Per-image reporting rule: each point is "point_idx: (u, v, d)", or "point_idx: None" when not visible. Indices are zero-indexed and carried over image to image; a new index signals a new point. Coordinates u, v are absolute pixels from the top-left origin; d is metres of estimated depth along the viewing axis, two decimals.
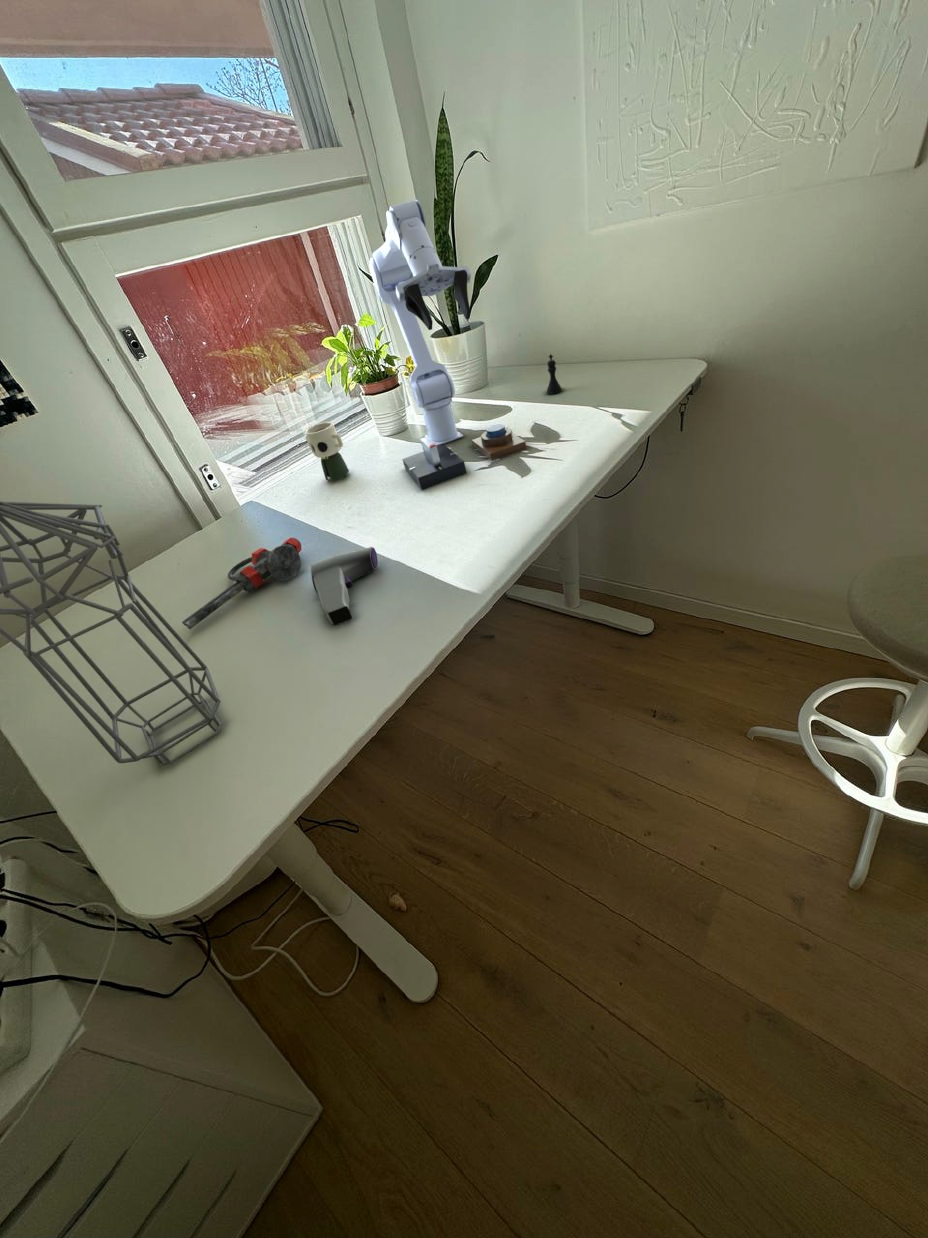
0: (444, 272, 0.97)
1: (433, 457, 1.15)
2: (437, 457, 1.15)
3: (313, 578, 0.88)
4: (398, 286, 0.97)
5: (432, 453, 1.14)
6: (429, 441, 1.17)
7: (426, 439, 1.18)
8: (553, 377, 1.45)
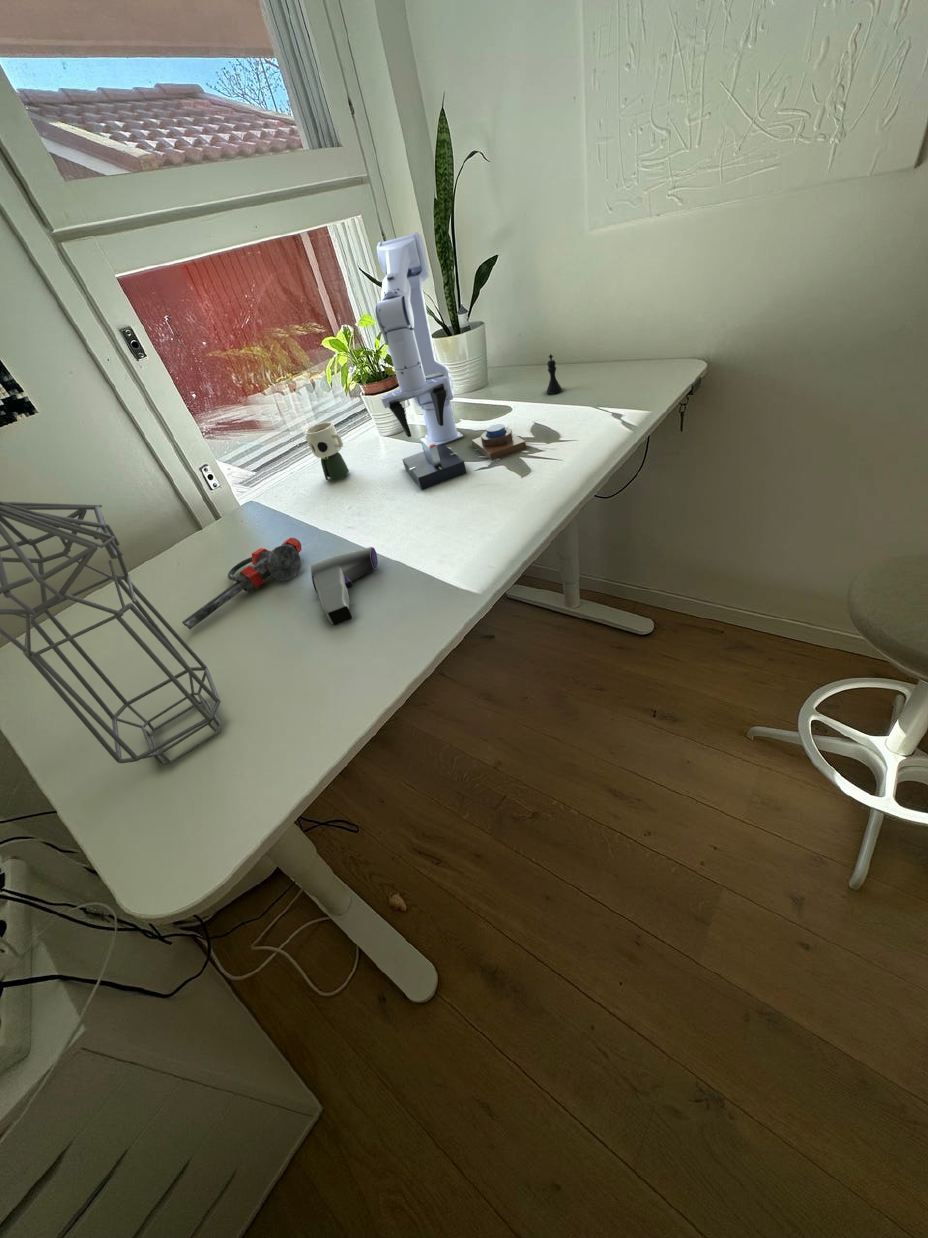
0: None
1: (433, 457, 1.15)
2: (437, 457, 1.15)
3: (313, 578, 0.88)
4: (384, 400, 1.08)
5: (432, 453, 1.14)
6: (429, 441, 1.17)
7: (426, 439, 1.18)
8: (553, 377, 1.45)
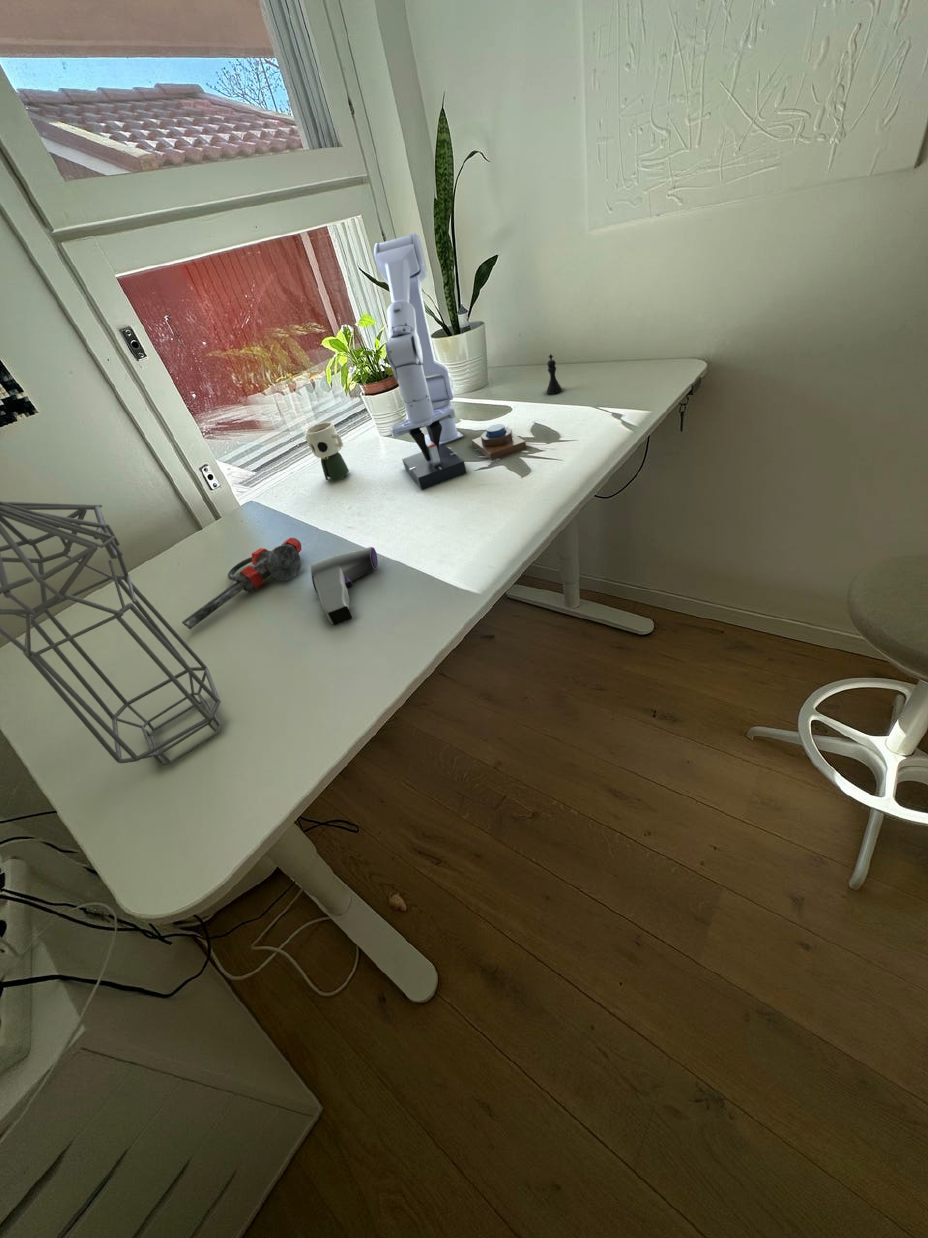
0: None
1: (433, 457, 1.15)
2: (437, 457, 1.15)
3: (313, 578, 0.88)
4: (394, 431, 1.12)
5: (432, 453, 1.14)
6: (429, 441, 1.17)
7: (426, 439, 1.18)
8: (553, 377, 1.45)
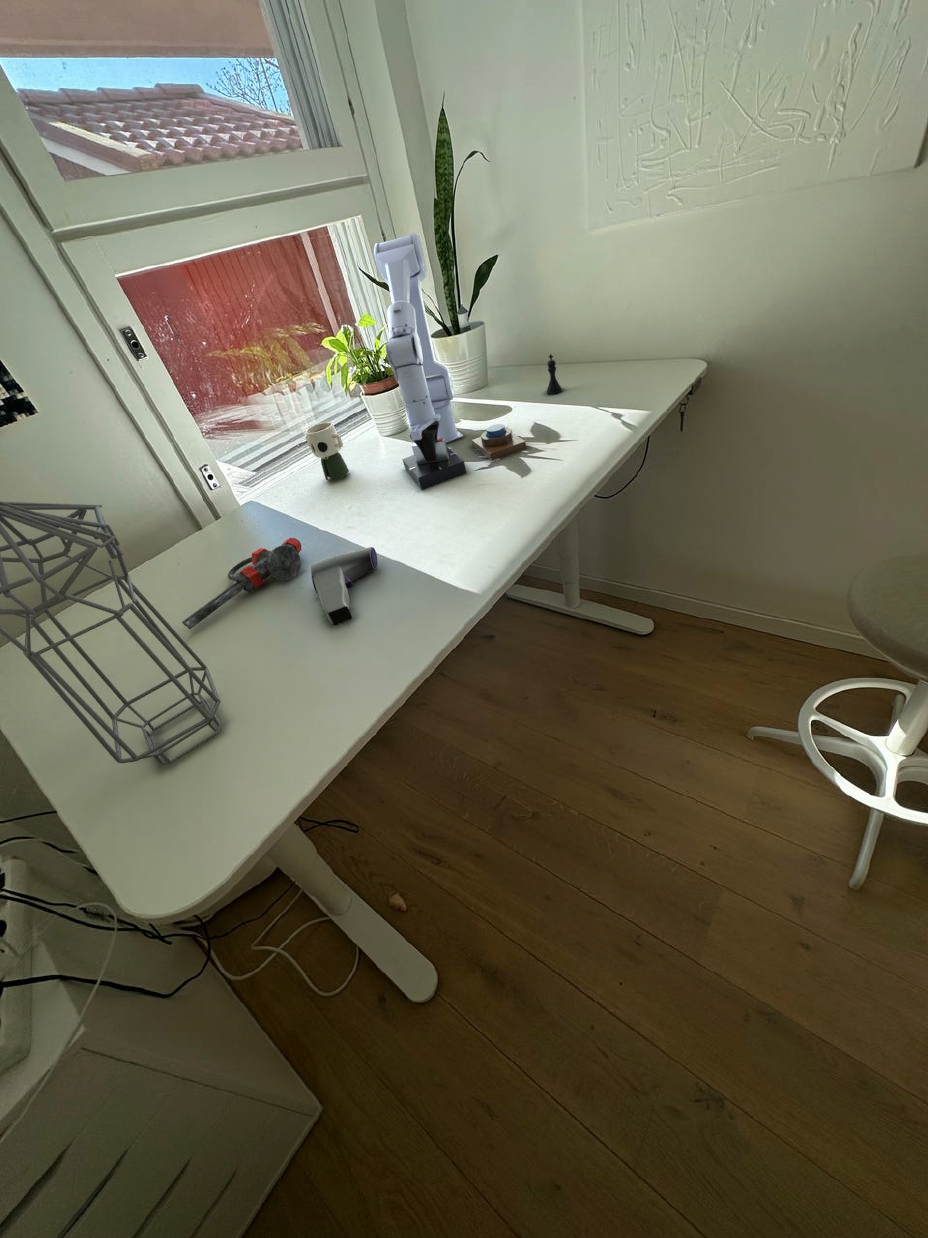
0: None
1: (446, 450, 1.17)
2: (447, 450, 1.18)
3: (313, 578, 0.88)
4: (419, 431, 1.08)
5: (445, 446, 1.16)
6: None
7: None
8: (553, 377, 1.45)
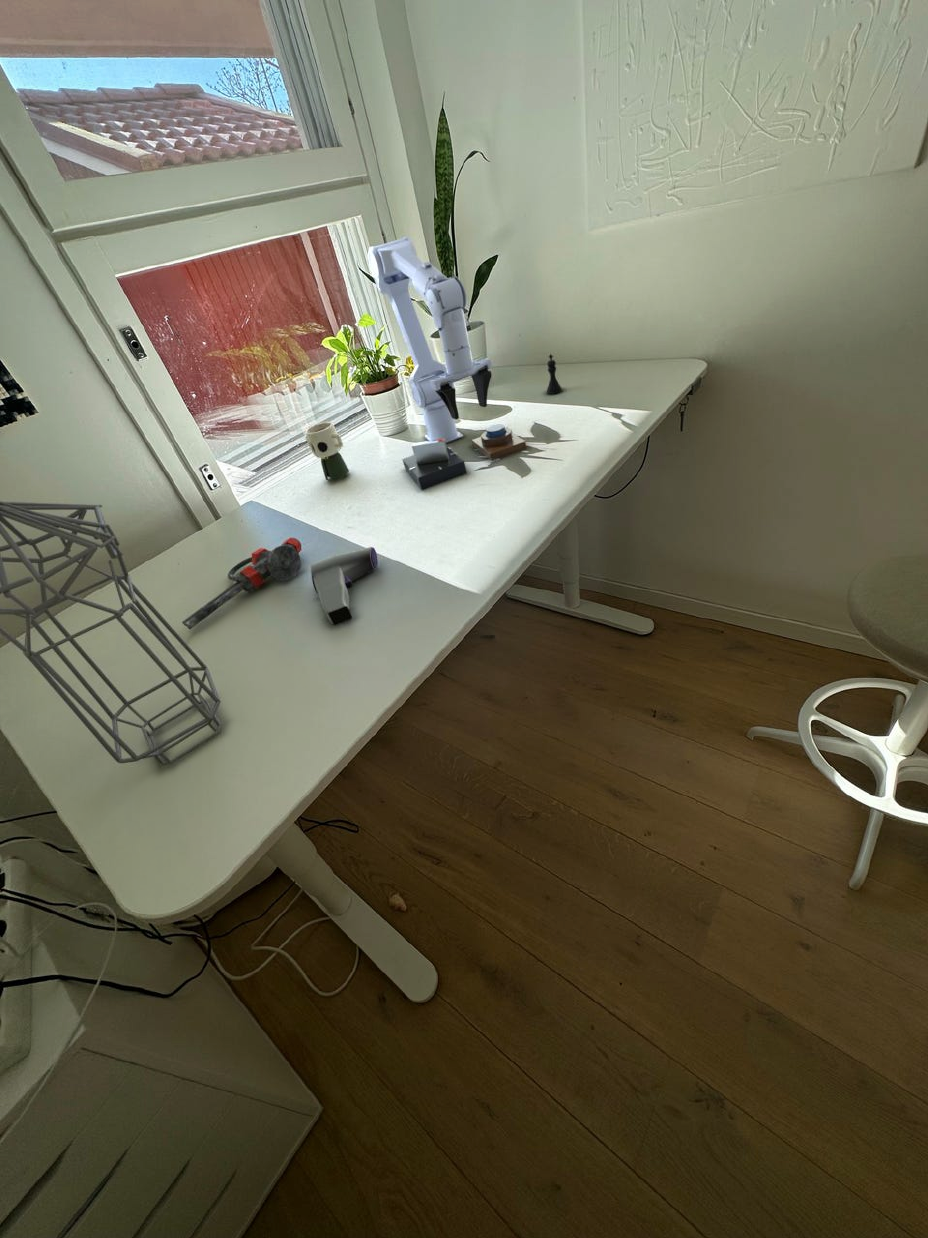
0: None
1: (446, 450, 1.17)
2: (447, 450, 1.18)
3: (313, 578, 0.88)
4: (436, 382, 1.09)
5: (445, 446, 1.16)
6: (427, 441, 1.17)
7: (419, 443, 1.17)
8: (553, 377, 1.45)
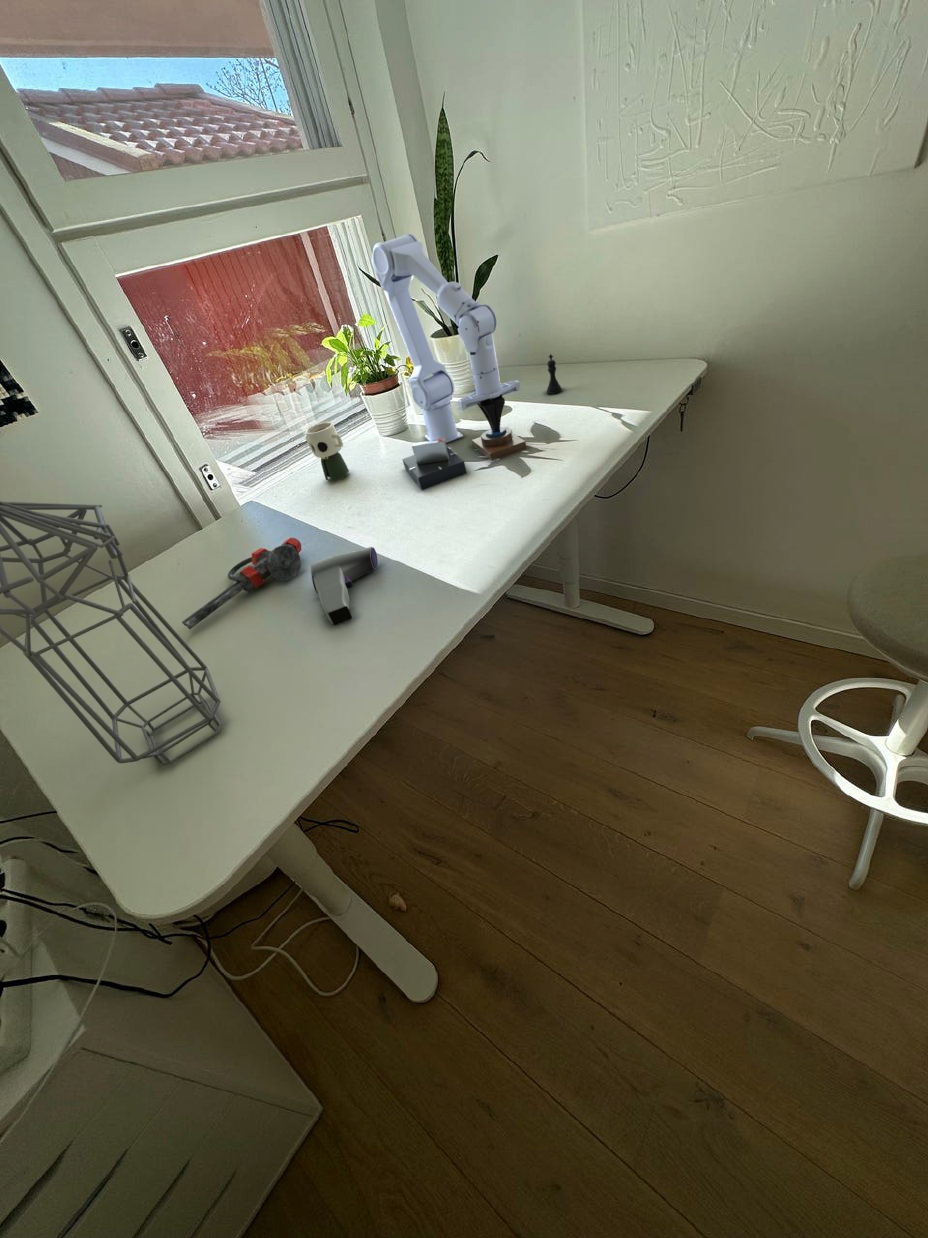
0: None
1: (446, 450, 1.17)
2: (447, 450, 1.18)
3: (313, 578, 0.88)
4: (462, 403, 1.16)
5: (445, 446, 1.16)
6: (427, 441, 1.17)
7: (419, 443, 1.17)
8: (553, 377, 1.45)
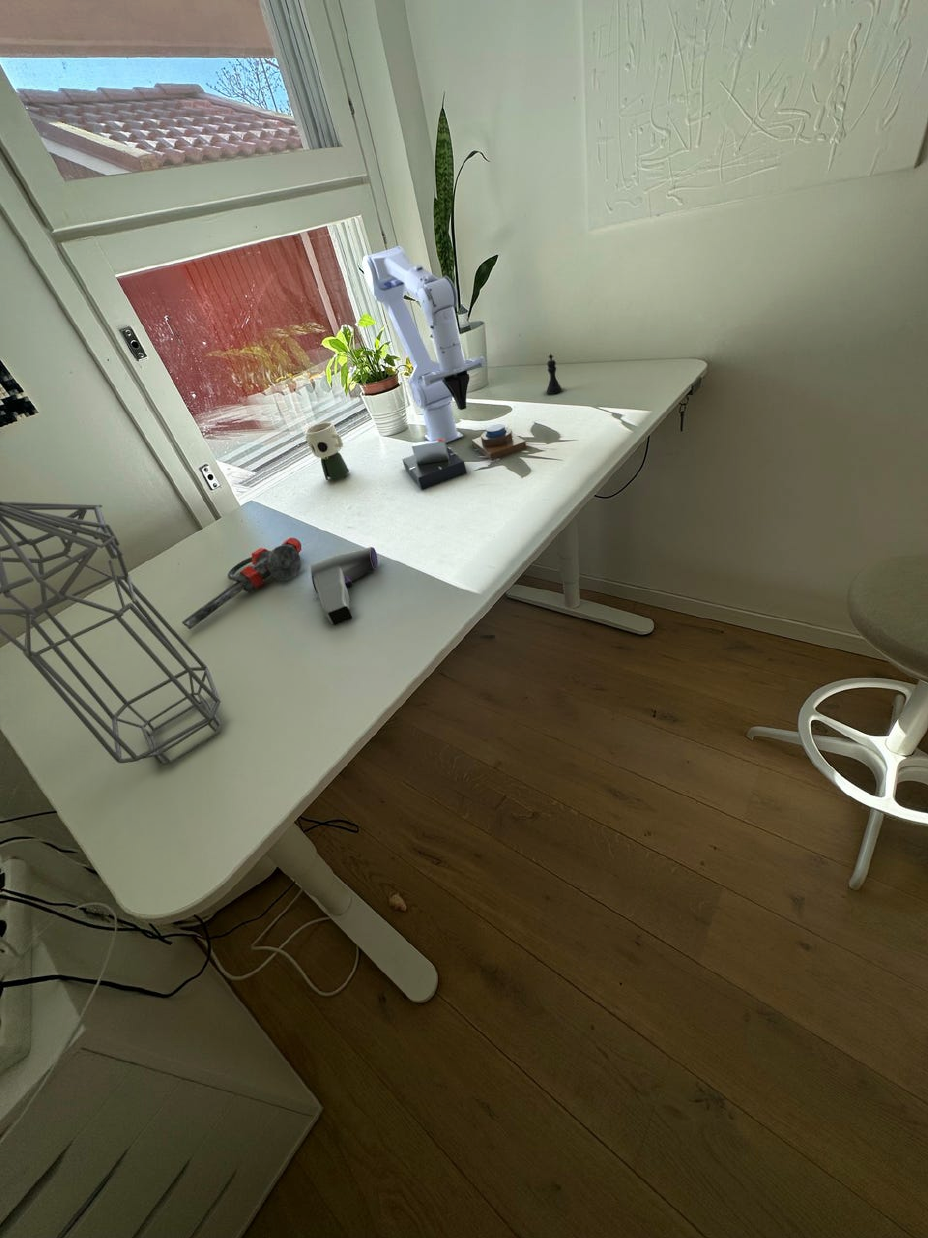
0: None
1: (446, 450, 1.17)
2: (447, 450, 1.18)
3: (313, 578, 0.88)
4: (426, 378, 1.14)
5: (445, 446, 1.16)
6: (427, 441, 1.17)
7: (419, 443, 1.17)
8: (553, 377, 1.45)
